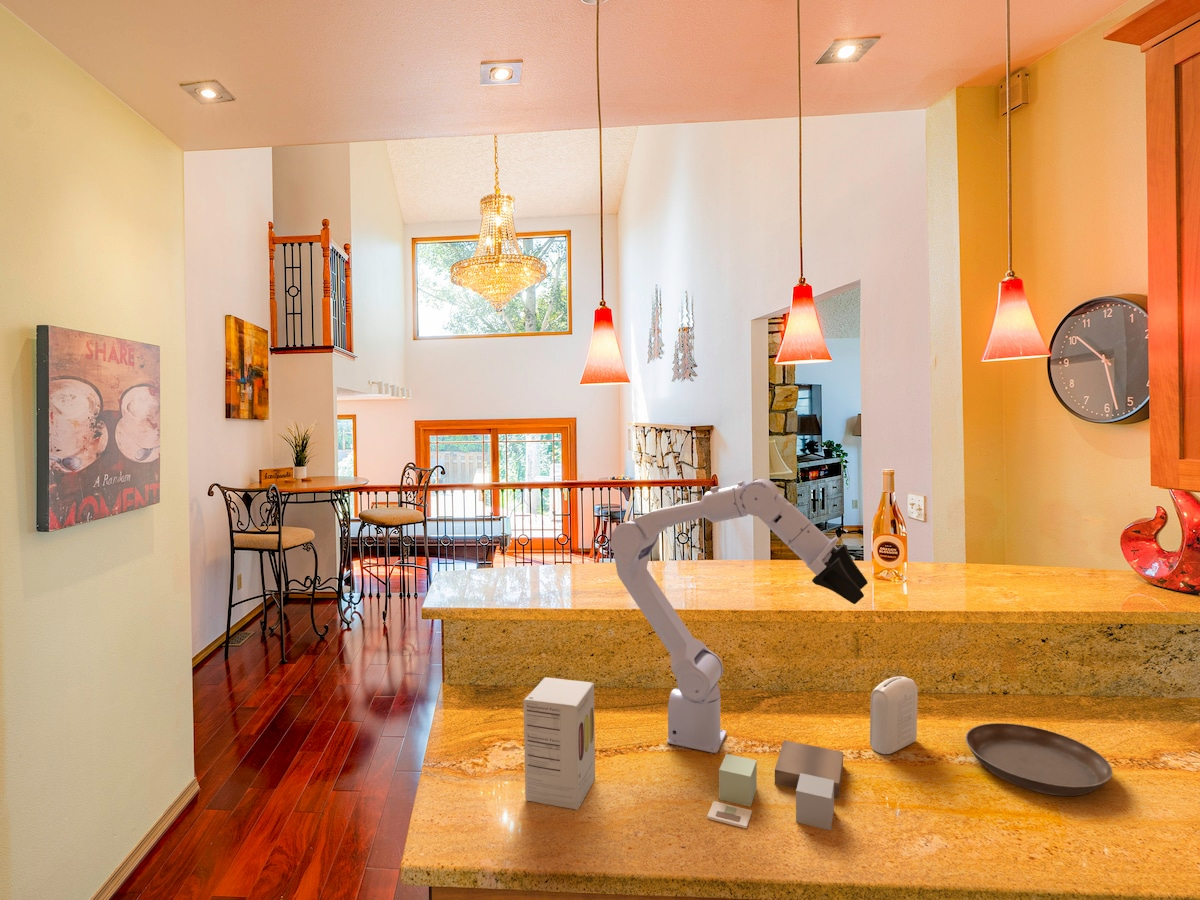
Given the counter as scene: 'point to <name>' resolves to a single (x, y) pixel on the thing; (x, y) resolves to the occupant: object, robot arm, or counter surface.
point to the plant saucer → (1038, 759)
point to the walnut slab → (808, 764)
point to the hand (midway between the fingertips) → (861, 593)
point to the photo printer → (893, 715)
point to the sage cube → (738, 780)
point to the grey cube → (815, 801)
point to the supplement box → (559, 742)
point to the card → (729, 814)
